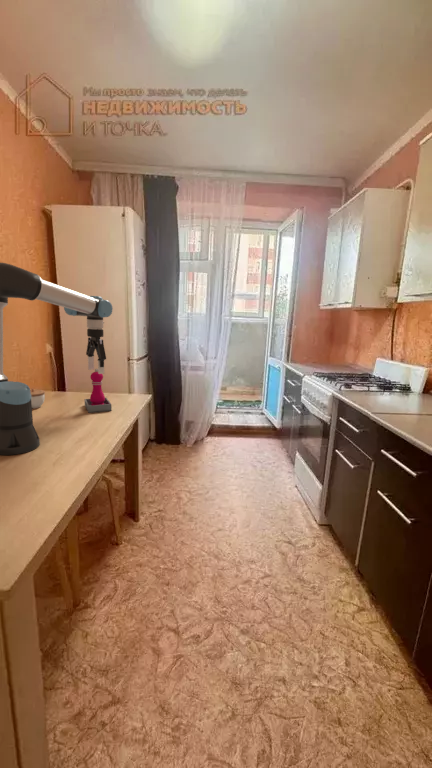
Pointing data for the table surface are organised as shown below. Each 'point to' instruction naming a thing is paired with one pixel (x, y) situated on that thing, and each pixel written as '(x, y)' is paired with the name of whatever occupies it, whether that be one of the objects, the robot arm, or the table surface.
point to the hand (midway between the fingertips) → (96, 371)
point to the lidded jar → (37, 398)
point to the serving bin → (97, 406)
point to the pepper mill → (97, 389)
